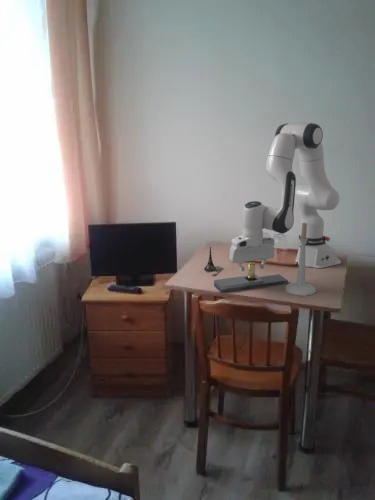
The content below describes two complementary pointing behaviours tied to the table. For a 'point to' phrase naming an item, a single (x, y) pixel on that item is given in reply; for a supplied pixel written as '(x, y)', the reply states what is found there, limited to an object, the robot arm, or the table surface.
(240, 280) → the long grey slab
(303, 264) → the candlestick
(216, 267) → the eiffel tower figurine
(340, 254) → the table surface
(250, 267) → the brass pin
